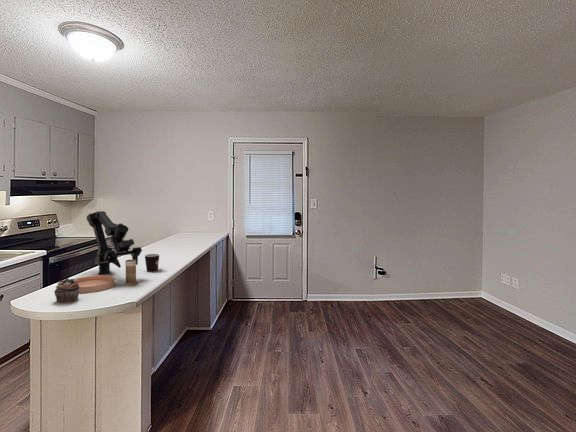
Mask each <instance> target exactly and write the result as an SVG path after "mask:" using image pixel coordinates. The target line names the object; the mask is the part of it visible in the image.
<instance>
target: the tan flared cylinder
mask: <svg viewBox="0 0 576 432" xmlns="http://www.w3.org/2000/svg"><path fill="white" fill-rule="evenodd" d="M124 263H125V264H124V265H125V281H124V284H123V285H124V286H128V287H129V286H136V285H138V284H139V282H138V280H137V265H136V260H134V259H132V258H131V259H127V260H125V262H124Z"/></svg>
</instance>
